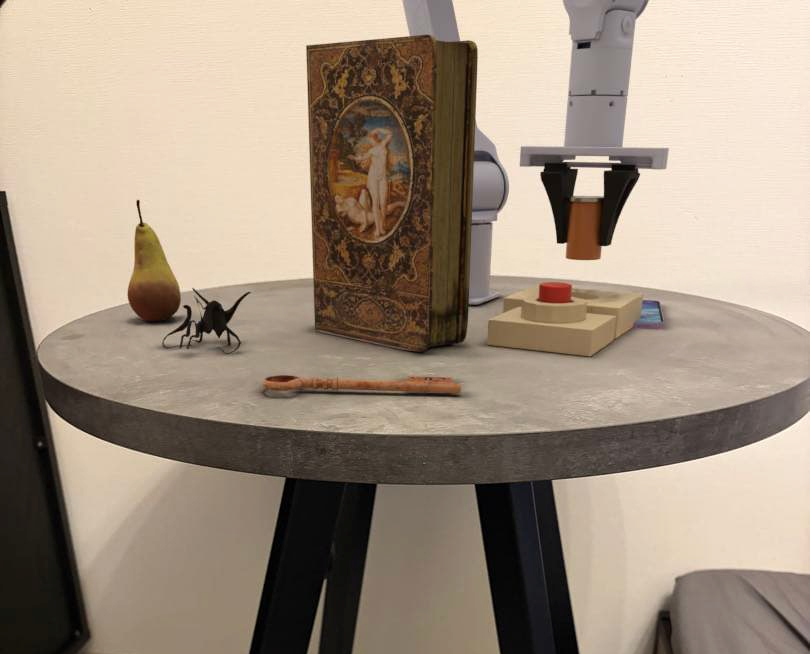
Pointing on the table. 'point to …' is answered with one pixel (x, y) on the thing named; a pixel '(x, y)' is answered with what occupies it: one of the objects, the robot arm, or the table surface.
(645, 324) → the smartphone
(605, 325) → the panel
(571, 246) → the cylinder
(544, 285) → the button
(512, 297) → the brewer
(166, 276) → the fruit
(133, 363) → the table surface
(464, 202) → the book
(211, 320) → the creature
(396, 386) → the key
